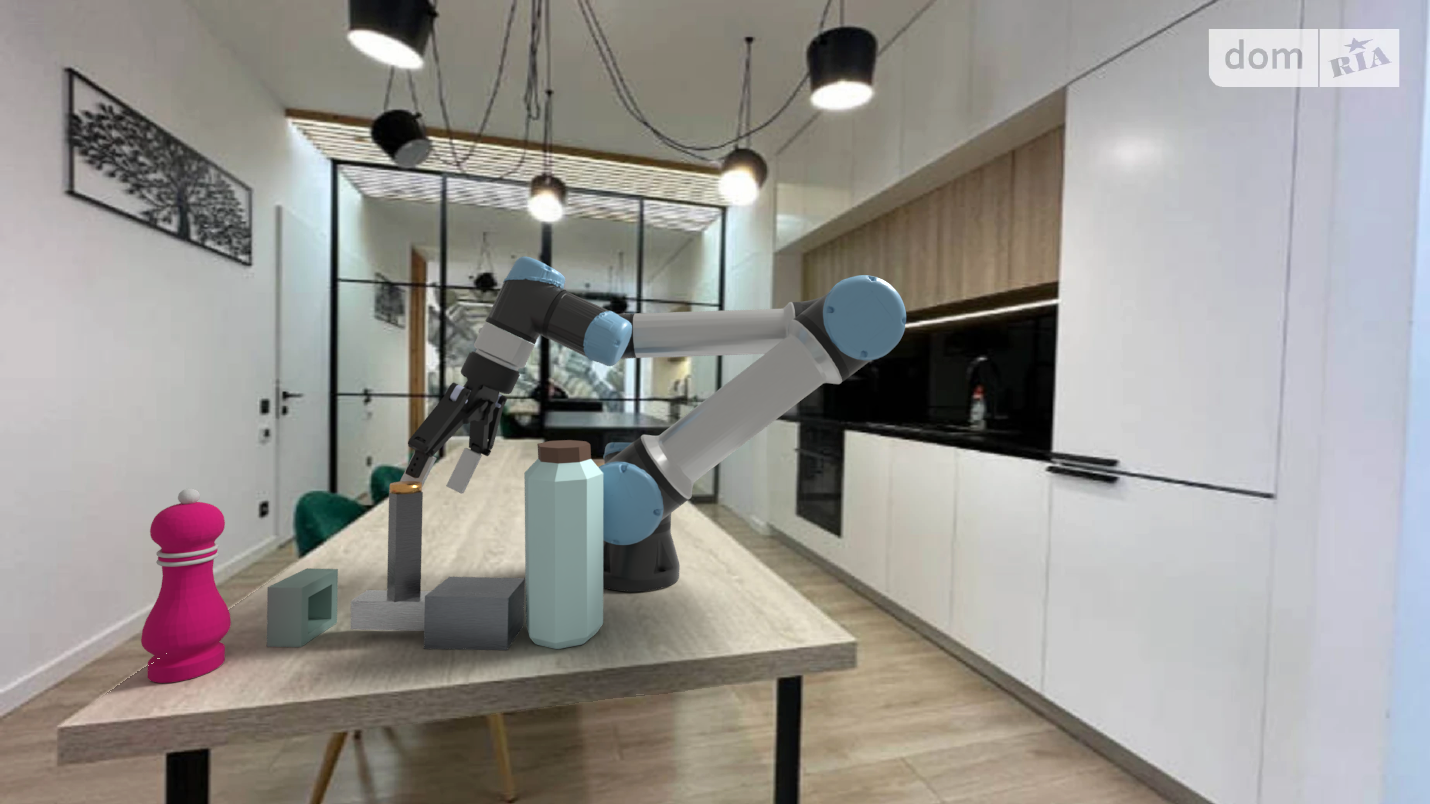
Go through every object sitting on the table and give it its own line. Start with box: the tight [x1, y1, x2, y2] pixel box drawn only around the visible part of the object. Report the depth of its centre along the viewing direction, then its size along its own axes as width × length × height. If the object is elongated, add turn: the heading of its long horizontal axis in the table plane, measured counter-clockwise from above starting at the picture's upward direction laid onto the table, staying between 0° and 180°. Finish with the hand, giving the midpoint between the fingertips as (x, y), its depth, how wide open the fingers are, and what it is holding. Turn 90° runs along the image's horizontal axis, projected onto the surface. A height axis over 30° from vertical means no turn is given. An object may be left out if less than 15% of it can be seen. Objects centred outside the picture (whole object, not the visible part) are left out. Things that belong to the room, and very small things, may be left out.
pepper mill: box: [140, 488, 232, 684], centre depth 62 cm, size 7×7×20 cm
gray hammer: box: [350, 481, 432, 632], centre depth 72 cm, size 18×4×18 cm, turn 93°
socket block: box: [266, 567, 339, 648], centre depth 72 cm, size 4×7×7 cm, turn 3°
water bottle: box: [524, 439, 604, 650], centre depth 73 cm, size 10×10×25 cm
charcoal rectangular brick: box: [423, 576, 526, 651], centre depth 73 cm, size 10×7×6 cm
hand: (431, 494), depth 81 cm, fingers open, 13 cm apart
